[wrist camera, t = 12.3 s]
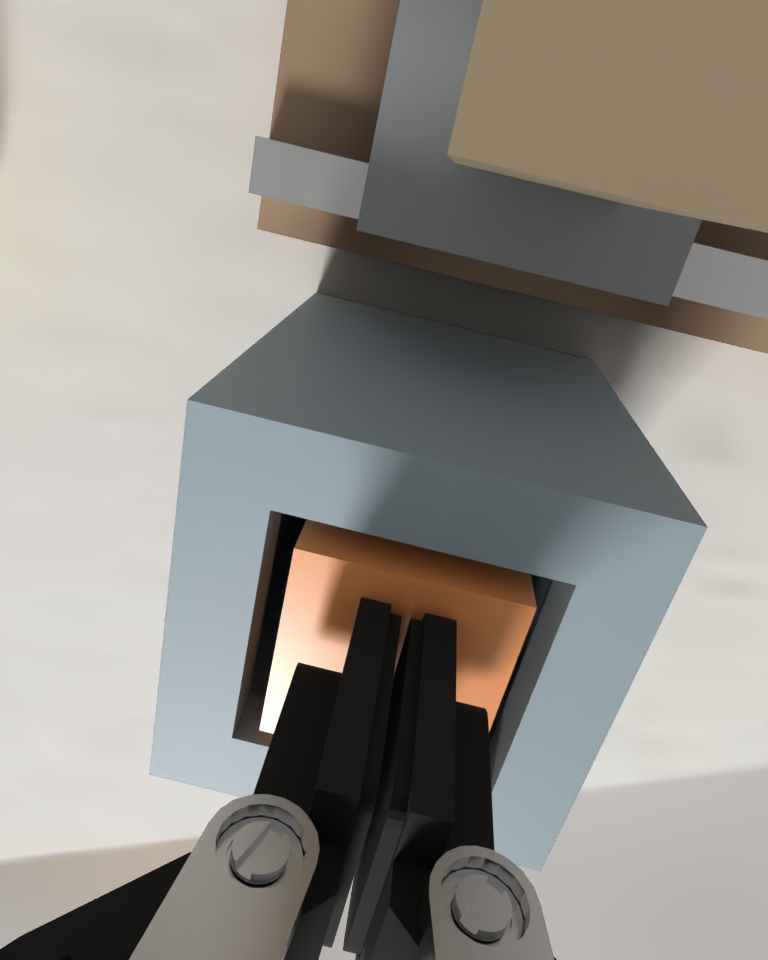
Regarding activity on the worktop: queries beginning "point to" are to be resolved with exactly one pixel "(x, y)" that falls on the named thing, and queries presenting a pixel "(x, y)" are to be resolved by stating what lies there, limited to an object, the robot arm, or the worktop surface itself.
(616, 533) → the end cabinet
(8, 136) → the worktop surface
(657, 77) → the carriage
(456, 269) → the rail board
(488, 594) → the button
